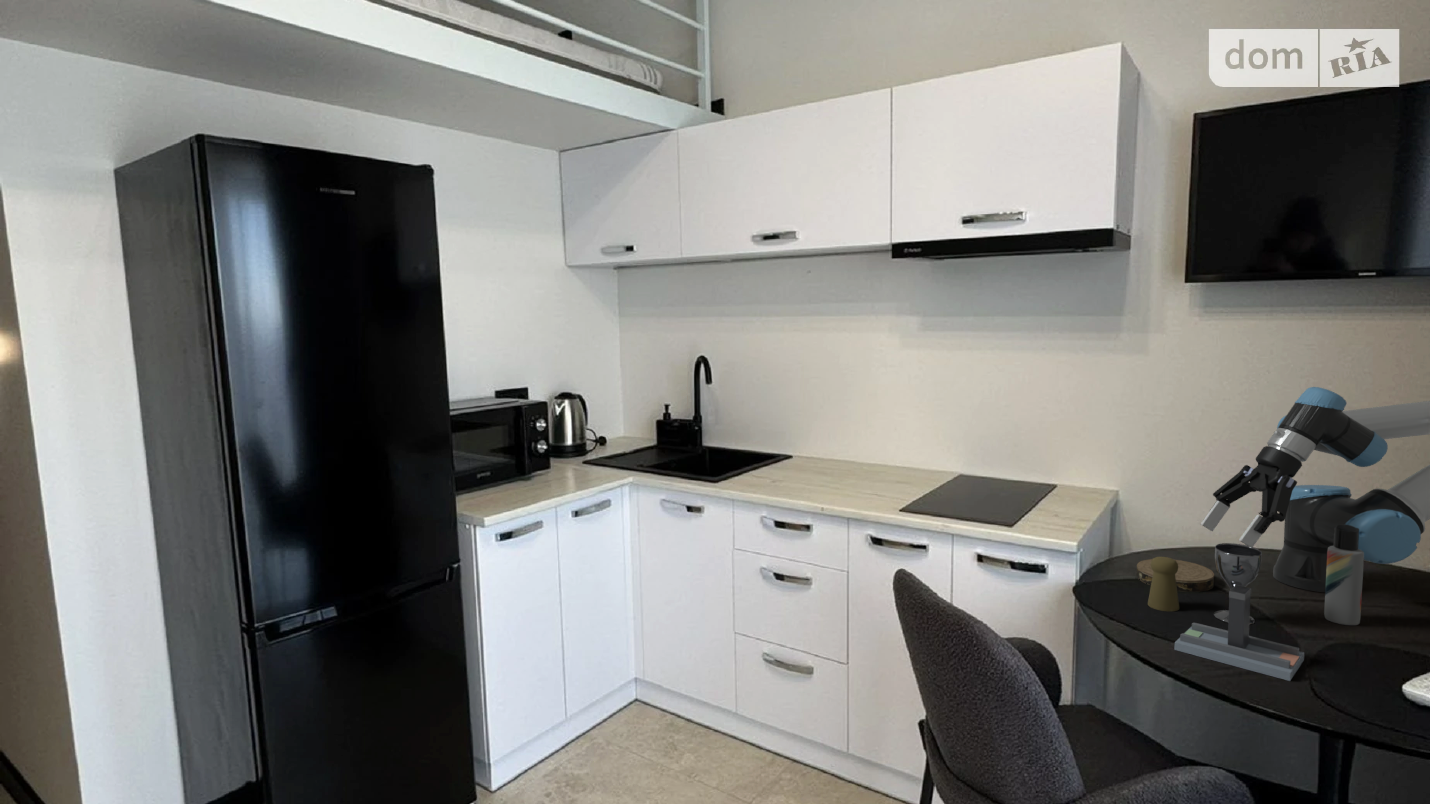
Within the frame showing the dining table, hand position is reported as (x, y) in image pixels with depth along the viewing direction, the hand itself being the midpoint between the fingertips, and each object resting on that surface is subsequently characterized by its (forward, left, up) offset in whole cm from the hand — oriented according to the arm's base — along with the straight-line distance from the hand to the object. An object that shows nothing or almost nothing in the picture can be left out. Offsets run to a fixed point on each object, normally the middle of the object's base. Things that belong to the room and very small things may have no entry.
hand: (1224, 535), depth 160 cm
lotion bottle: (-19, +8, -16) cm, 26 cm away
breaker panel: (+11, +23, -16) cm, 30 cm away
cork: (+12, -1, -16) cm, 20 cm away
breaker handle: (+11, +23, -14) cm, 29 cm away
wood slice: (+1, -17, -17) cm, 24 cm away
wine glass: (+1, +6, -16) cm, 17 cm away
